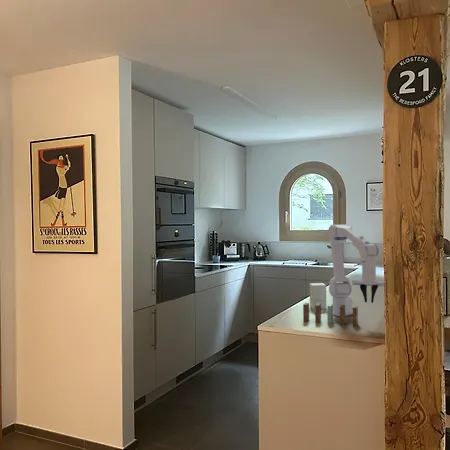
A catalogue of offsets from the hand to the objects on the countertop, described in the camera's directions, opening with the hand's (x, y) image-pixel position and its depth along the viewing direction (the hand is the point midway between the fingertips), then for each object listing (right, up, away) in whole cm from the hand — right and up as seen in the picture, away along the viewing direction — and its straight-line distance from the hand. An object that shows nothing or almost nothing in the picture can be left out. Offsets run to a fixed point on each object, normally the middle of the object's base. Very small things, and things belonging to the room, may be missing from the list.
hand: (369, 302), depth 205 cm
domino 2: (-21, -11, +9) cm, 25 cm away
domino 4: (-10, -11, +5) cm, 16 cm away
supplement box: (-14, -10, +40) cm, 44 cm away
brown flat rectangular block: (-5, -11, +3) cm, 12 cm away
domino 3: (-16, -11, +7) cm, 20 cm away
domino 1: (-26, -11, +11) cm, 30 cm away
